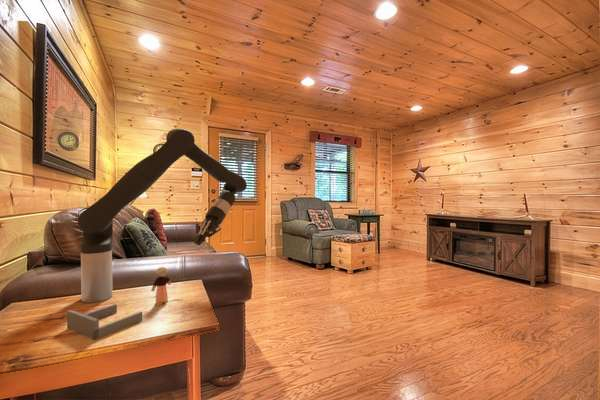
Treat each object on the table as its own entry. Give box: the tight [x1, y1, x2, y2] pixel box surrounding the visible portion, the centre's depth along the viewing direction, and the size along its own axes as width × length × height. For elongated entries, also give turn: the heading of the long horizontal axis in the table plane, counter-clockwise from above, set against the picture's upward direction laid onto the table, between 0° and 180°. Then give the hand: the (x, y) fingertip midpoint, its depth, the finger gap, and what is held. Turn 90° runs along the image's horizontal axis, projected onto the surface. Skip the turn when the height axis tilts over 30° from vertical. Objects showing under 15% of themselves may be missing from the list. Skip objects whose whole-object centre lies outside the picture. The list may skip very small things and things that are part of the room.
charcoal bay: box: [66, 303, 143, 341], centre depth 83 cm, size 14×13×5 cm
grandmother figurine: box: [150, 266, 172, 307], centre depth 99 cm, size 8×4×13 cm, turn 168°
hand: (196, 244), depth 113 cm, fingers closed
